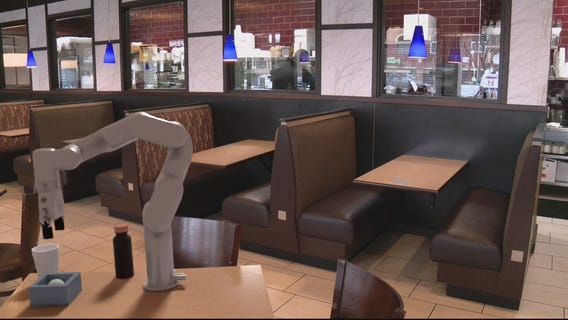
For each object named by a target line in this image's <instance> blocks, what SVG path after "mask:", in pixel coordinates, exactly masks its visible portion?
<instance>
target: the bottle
mask: <svg viewBox="0 0 568 320" xmlns="http://www.w3.org/2000/svg"><path fill="white" fill-rule="evenodd" d="M113 230H114V234H115V236H114V237H113V238H112V248H113V259H114V270H115V271H114V272H115V278H116V279H119V280H124V279H125V280H127V279H130V278H132V277H133V276H134V275H135V268H134V256H133V242H132V236H131V235H130V234H128V232H129V225H128V224H127V223H118V224H115V225H114V226H113Z"/></svg>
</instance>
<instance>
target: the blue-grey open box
mask: <svg viewBox="0 0 568 320" xmlns="http://www.w3.org/2000/svg"><path fill="white" fill-rule="evenodd" d="M55 279H60V280H62V281H63V282H64V284H55V285H48V284H49V282H50V281H52V280H55ZM82 284H83V283H82V275H81V271H72V272H71V271H70V272H69V271H68V272H66V271H65V272H64V271H63V272H58V273H44V274H43V275H42V276H41V277H40V278H39V277H38V278H37V279H36V280H35V281H34V282H33V283H31V284H30V285H29V286H28V287H27V289H28V296H29V304H30V305H29V307H30V308H42V307H43V308H46V307H47V308H48V307H69V306H70V305H69V304H72V303H73V301H75V299H76V298H77V297H78V296H79V295H80V294H81V292H82V291H83V285H82ZM79 293H80V294H79ZM78 294H79V295H78ZM77 295H78V296H77Z"/></svg>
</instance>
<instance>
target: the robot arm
mask: <svg viewBox="0 0 568 320" xmlns="http://www.w3.org/2000/svg"><path fill="white" fill-rule="evenodd" d="M138 140H142V141H145V142H148V143H152V144H156V145H159V146H163V147H166V148H168V153H167V156H166V157H165V161H164V163H163V166H162V168H161V170H160V173H159V174H158V177H157V178H156V180H155V184H154V189H153V192H152V195H151V197H150V200H149V201H147V202H146V203H145V204H144V206H143V209H142V223H143V235H144V250H145V264H146V277H147V278H146V280H144V281H143V284H142V285H143V286H142V287H143V289H144V290H147V291H151V292H161V291H168V290H171V289H174V288H176V287H177V286H178V285H179V283H180V281H186V280H187V274H185V273H184V272H180V273H178V272H177V269H175V266H174V265H175V264H174V250H173V236H172V235H173V233H172V221H173V219H174V217H175V215H176V212H177V211H178V208H179V205H180V203H181V201H182V198H183V194H184V185H183V184H184V180H185V178H186V176H187V173H188V171H189V167H190V166H191V162H192V158H193V154H194V147H193V140H192V138H191V135H190V133H189V132H188V131H187V129H186V128H185V126H184V125H183V124H181V123H180V122H178V121H168V120H165V119H162V118H158V117H155V116H152V115H150V114H148V113H147V112H144V111H138V112H137V111H136V112H134V113H133V114H130V115H128V116H126V117H123V118H122V119H119V120H117V121H115V122H113V123H111V124H109V125H107V126H104V127H103V128H100V129H98V130H97V131H95V132H93V133H91V134H89V135H87V136H85V137H83V138H80V139H78V140H76V141H73V142H71V143H69V144H67V145H65V146H64V147H62V148H59V149H55V148H53V147H52V148H51V147H44V148H37V149H34V150H33V151H32V162H33V163H32V165H33V171H34V172H33V173H34V180H35V187H36V192H37V193H38V195H37V196H38V197H37V198H38V199H37V201H38V202H37V203H38V211H39V214H38V215H39V216H38V220H39V224H40V228H41V232H42V240H52V239H54V231H56V232H58V231H64V230H65V229H66V226H65V219H64V218H65V216H64V215H65V214H66V207H65V202H64V197H63V196H64V195H63V191H62V186H61V176H60V171H61V170H62V171H63V170H64V171H70V170H74V169H76V168H78V167H79V165H80V164H81V163H83V162H85V161H87V160H91V159H92V158H94V157H97V156H99V155H100V154H104V153H110V152H114V151H116V150H118V149H121V148H122V147H125V146H127V145H129V144H131V143H133V142H135V141H138ZM52 222H53V224H54V225H53V226H54V231H53V226H52Z"/></svg>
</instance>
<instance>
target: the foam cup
mask: <svg viewBox="0 0 568 320" xmlns="http://www.w3.org/2000/svg"><path fill="white" fill-rule="evenodd" d="M60 252H61V250H60V245H59V243H45V244H40V245H36V246H34V247H33V248H31V256H32V258H33V261H34V266H35V269H36V272H37V277H38V278H40V277H41V276H42V275H43V274H44V273H60V271H59V270H60V269H59V267H60Z"/></svg>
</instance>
